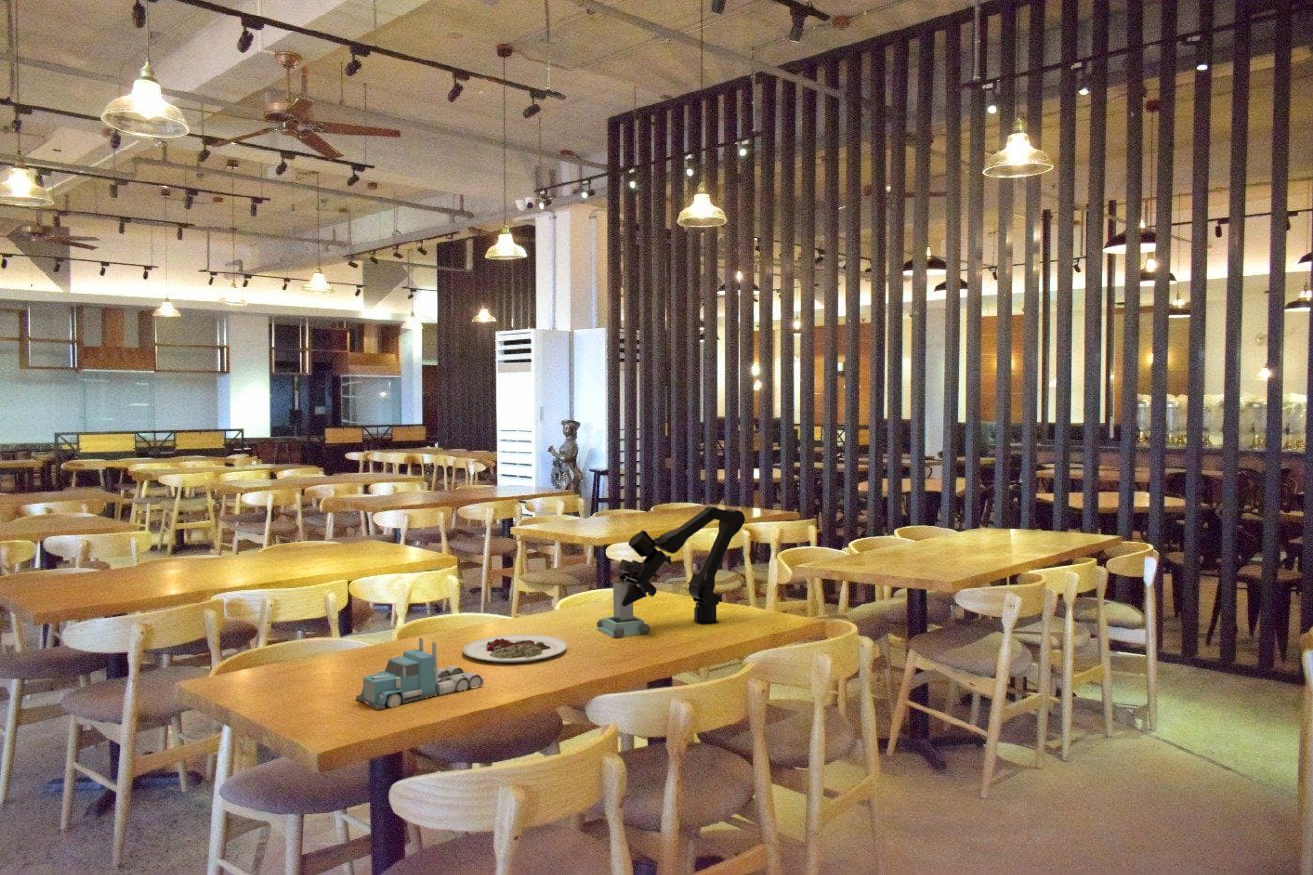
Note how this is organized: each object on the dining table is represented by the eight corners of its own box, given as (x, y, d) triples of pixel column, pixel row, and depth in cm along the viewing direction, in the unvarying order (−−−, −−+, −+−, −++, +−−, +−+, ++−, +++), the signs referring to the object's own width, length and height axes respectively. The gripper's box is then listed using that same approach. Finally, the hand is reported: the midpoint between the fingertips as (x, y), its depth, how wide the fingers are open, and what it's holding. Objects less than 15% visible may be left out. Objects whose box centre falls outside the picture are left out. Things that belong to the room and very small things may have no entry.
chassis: (631, 625, 312) (631, 613, 312) (650, 634, 300) (650, 621, 300) (596, 629, 306) (596, 617, 306) (614, 638, 294) (614, 625, 294)
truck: (355, 701, 233) (354, 640, 233) (458, 678, 253) (458, 621, 252) (378, 712, 224) (377, 649, 224) (483, 688, 244) (483, 629, 243)
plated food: (548, 669, 261) (548, 656, 261) (445, 663, 267) (445, 651, 267) (579, 642, 290) (579, 631, 290) (486, 638, 296) (485, 627, 296)
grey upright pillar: (626, 622, 306) (625, 581, 306) (633, 625, 302) (632, 584, 302) (613, 623, 304) (613, 583, 304) (620, 626, 300) (619, 585, 300)
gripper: (621, 546, 313) (590, 583, 308) (647, 553, 296) (615, 592, 291) (643, 568, 317) (613, 605, 312) (670, 576, 300) (638, 615, 295)
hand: (619, 604), depth 302 cm, fingers closed on grey upright pillar, 5 cm apart
